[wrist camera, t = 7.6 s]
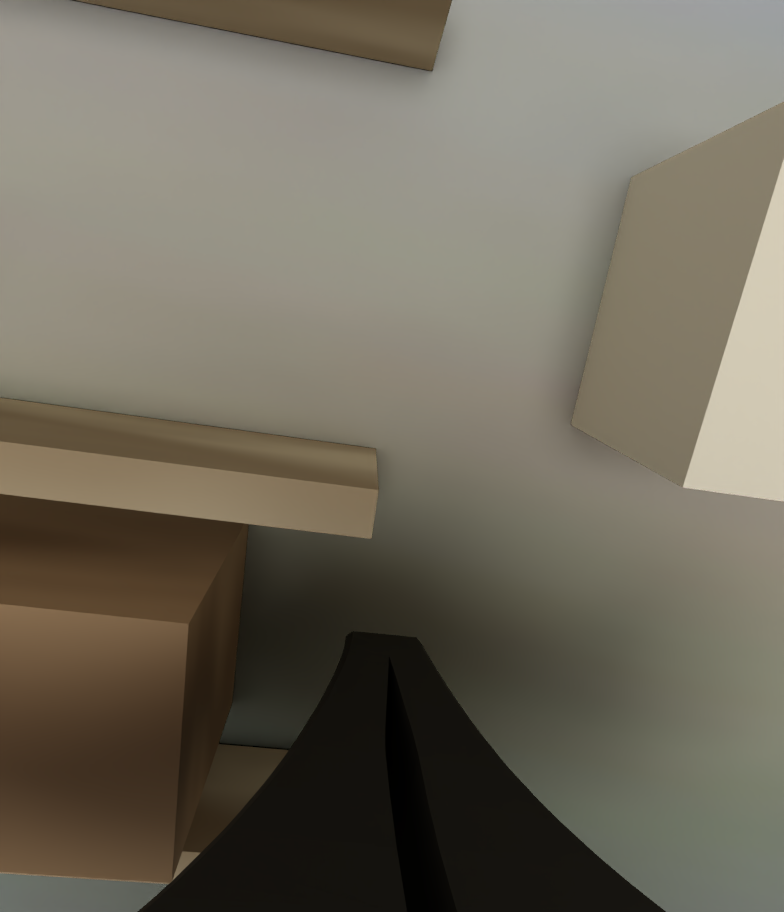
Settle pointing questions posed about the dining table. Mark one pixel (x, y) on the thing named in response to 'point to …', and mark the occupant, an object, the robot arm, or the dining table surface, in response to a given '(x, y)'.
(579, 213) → the dining table surface
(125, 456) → the lane rack
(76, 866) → the walnut block
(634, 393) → the cream block
